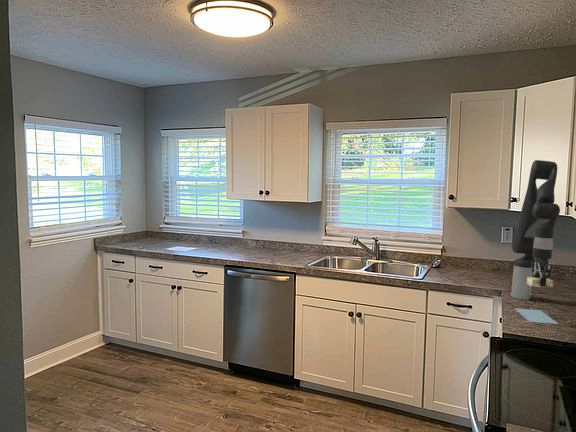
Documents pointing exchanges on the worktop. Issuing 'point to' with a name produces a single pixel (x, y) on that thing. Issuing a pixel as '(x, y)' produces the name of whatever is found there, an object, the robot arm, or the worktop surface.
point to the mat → (535, 316)
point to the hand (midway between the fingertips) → (539, 284)
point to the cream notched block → (536, 282)
